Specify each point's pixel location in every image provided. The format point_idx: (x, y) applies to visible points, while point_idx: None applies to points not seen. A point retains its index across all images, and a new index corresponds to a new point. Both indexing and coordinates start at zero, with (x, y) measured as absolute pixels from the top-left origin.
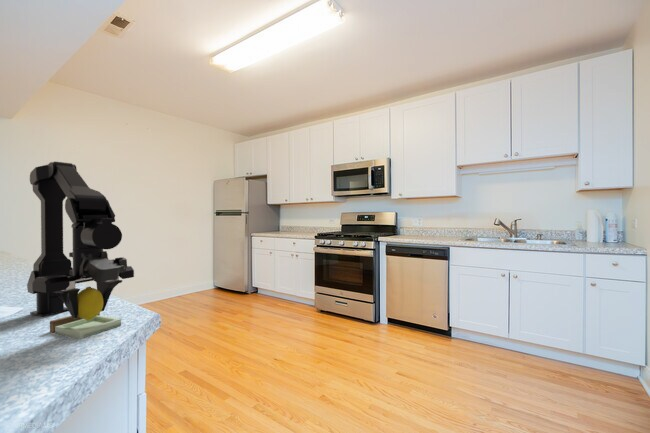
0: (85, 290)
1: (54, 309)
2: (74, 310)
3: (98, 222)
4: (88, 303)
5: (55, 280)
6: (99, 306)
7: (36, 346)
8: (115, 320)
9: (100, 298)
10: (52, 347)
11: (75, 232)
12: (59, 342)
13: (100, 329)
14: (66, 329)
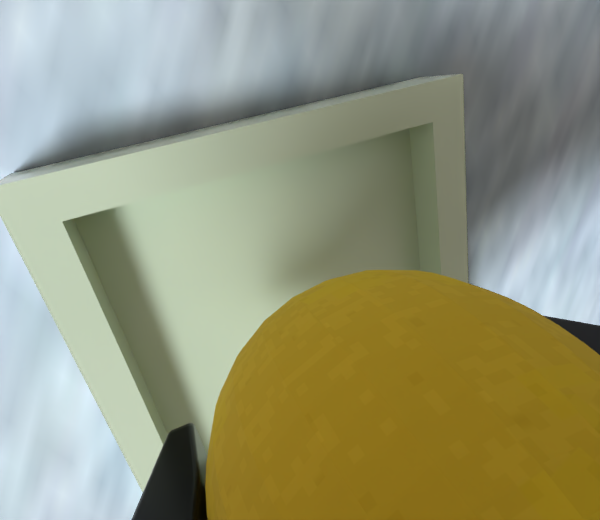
0: None
1: None
2: (579, 328)
3: None
4: (548, 333)
5: None
6: (318, 321)
7: (583, 172)
8: (71, 186)
9: (361, 468)
10: (570, 44)
11: None
12: (508, 128)
13: (256, 117)
14: (466, 267)
